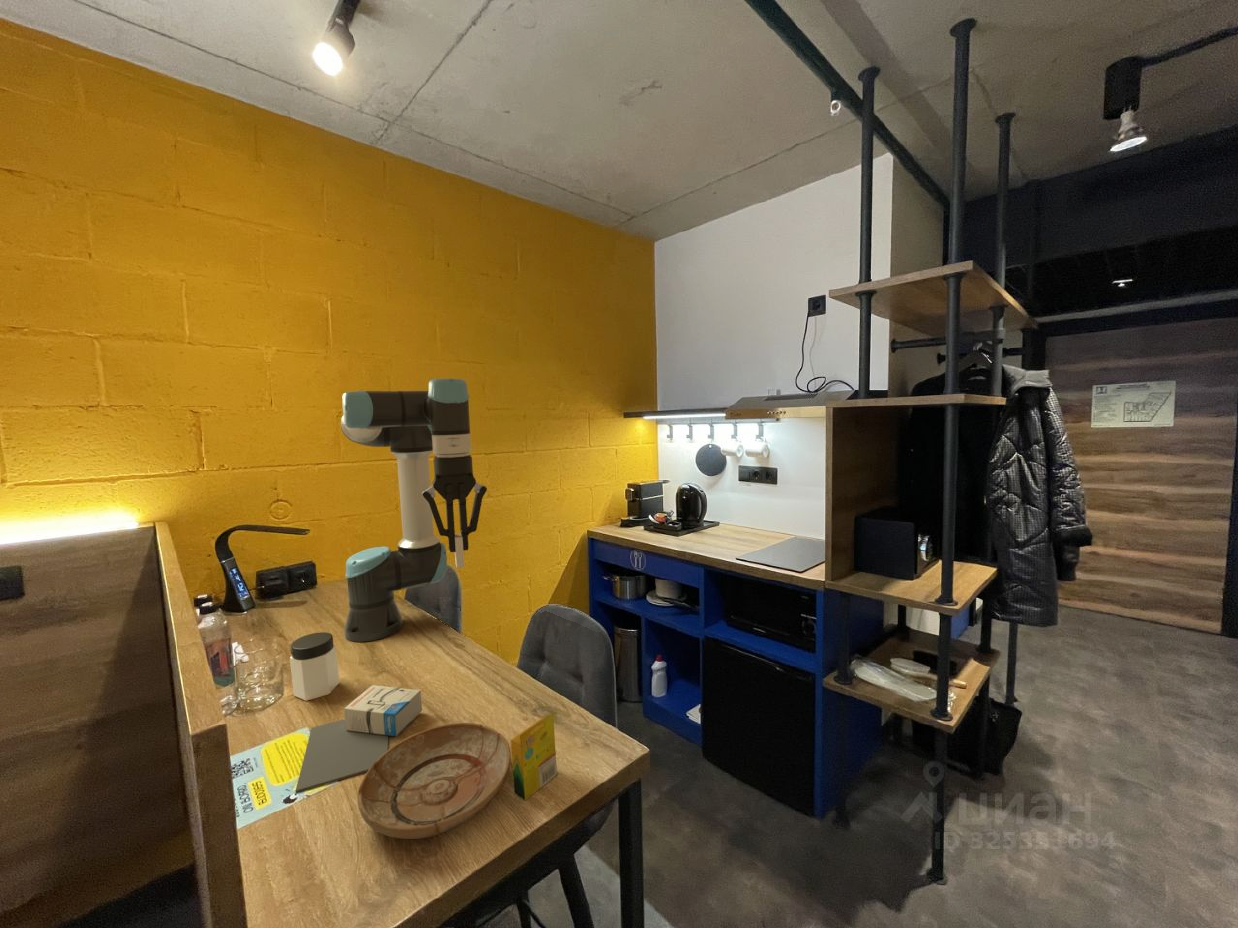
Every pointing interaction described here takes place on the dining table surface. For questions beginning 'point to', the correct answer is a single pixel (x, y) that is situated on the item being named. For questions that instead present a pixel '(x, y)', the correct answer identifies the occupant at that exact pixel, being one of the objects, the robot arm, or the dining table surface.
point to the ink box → (383, 710)
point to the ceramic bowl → (434, 780)
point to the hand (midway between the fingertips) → (459, 565)
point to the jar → (314, 666)
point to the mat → (338, 754)
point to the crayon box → (534, 757)
